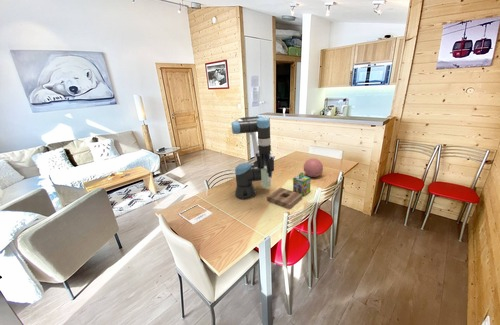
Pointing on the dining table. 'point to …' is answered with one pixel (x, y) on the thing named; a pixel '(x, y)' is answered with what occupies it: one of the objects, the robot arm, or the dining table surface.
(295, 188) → the chalk box
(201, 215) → the photo frame
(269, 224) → the dining table surface
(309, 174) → the pink ball
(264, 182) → the peg
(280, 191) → the socket board
